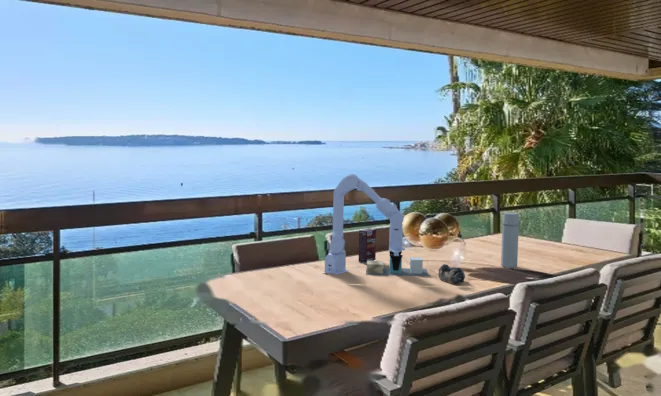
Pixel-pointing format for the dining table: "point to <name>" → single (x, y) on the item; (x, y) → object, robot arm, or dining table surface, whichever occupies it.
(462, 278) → the black rounded lump
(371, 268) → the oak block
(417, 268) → the light grey block
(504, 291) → the dining table surface
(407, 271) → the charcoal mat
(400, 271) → the teal block
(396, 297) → the dining table surface
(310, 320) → the dining table surface
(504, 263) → the water bottle
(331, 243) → the robot arm
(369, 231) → the supplement box
